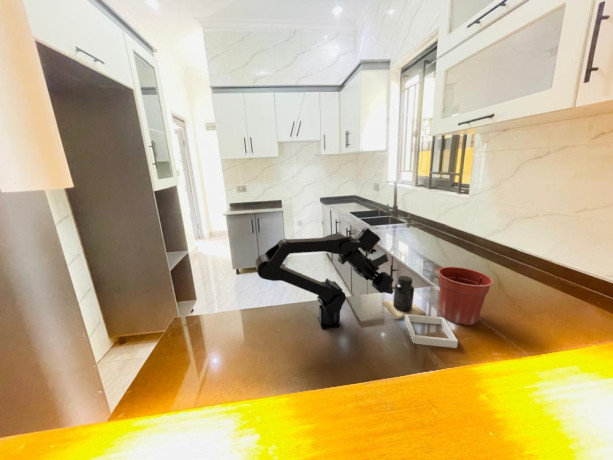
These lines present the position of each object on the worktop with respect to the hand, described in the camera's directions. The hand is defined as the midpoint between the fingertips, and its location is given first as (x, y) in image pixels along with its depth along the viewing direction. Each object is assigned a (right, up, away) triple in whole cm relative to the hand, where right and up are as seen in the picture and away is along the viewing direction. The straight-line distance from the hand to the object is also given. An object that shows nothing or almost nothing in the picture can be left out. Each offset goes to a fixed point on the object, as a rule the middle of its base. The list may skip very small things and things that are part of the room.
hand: (384, 287), depth 91 cm
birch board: (+8, -10, +5) cm, 14 cm away
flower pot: (+27, -11, +1) cm, 29 cm away
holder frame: (+12, -13, -9) cm, 20 cm away
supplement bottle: (+8, -9, +4) cm, 13 cm away
